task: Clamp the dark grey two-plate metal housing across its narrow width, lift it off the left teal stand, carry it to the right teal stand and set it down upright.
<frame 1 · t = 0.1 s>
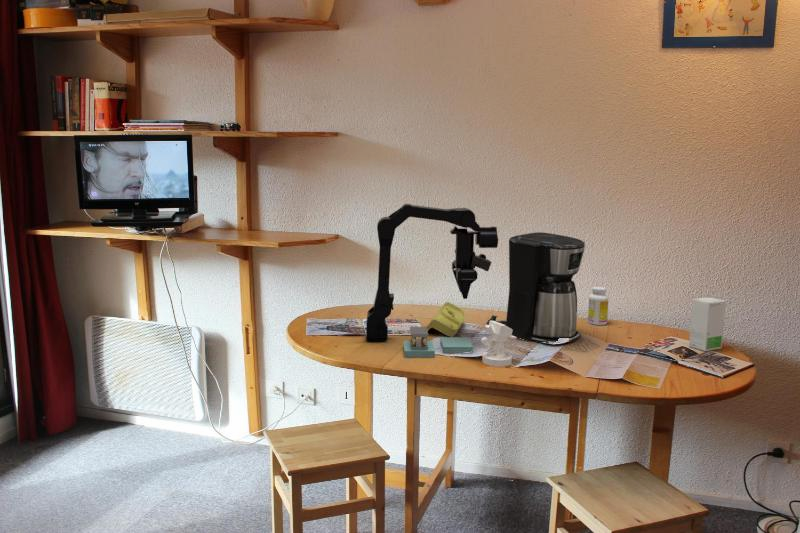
hand: (463, 295, 218), 15 cm above the table, tool pointing down, fingers open, 9 cm apart
housing: (418, 346, 207), point 2 cm above the table, touching stand left
character figurine: (498, 362, 199), on the table
stand right: (456, 348, 211), on the table
stand left: (418, 352, 207), on the table
plastic component: (446, 330, 233), on the table
coffee maker: (537, 332, 230), on the table
skincare box: (704, 348, 214), on the table
supplement bottle: (597, 323, 242), on the table
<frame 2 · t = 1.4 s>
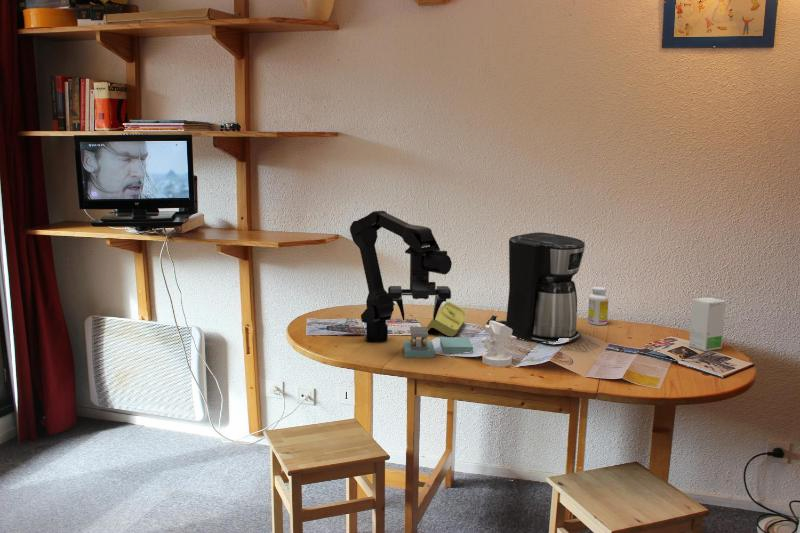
hand: (418, 320, 205), 10 cm above the table, tool pointing down, fingers open, 9 cm apart
nothing on the table moved.
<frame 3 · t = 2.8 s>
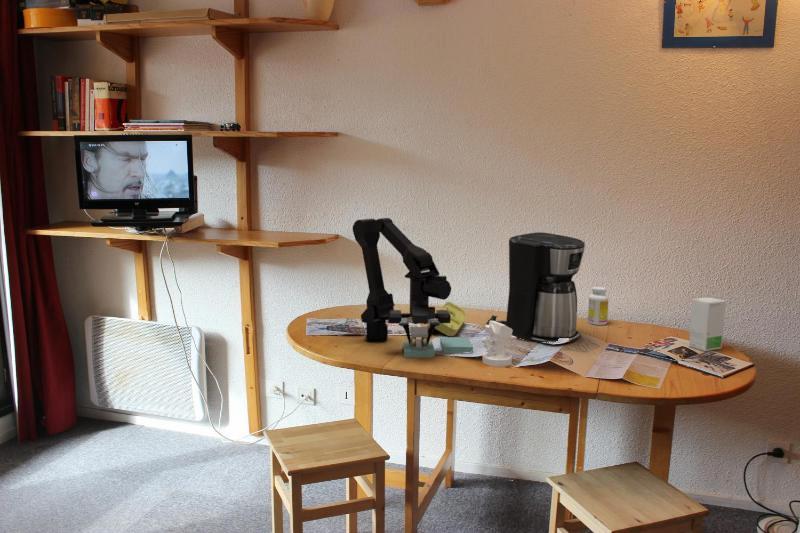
hand: (418, 343, 206), 3 cm above the table, tool pointing down, fingers closed on housing, 5 cm apart
housing: (418, 346, 207), point 2 cm above the table, touching gripper, stand left
everything else where it was.
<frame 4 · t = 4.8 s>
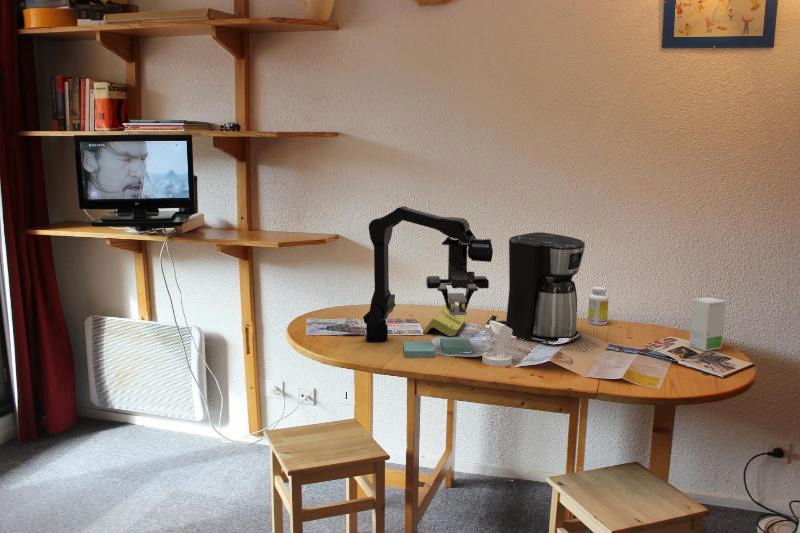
hand: (456, 309, 209), 12 cm above the table, tool pointing down, fingers closed on housing, 5 cm apart
housing: (456, 311, 209), point 12 cm above the table, touching gripper
everything else where it was.
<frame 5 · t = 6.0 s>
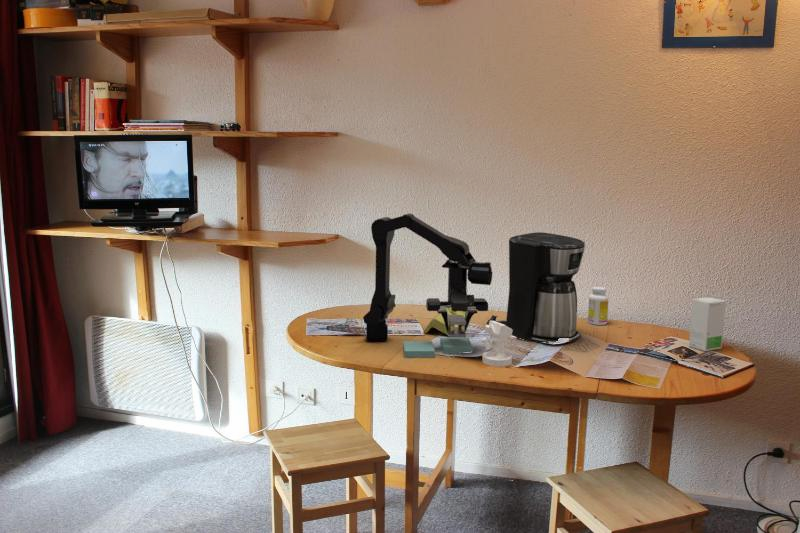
hand: (456, 331, 210), 5 cm above the table, tool pointing down, fingers closed on housing, 5 cm apart
housing: (456, 333, 210), point 5 cm above the table, touching gripper
everything else where it was.
when the fingers open (3 cm above the table, at t = 6.8 s): housing stays where it is, resting on stand right.
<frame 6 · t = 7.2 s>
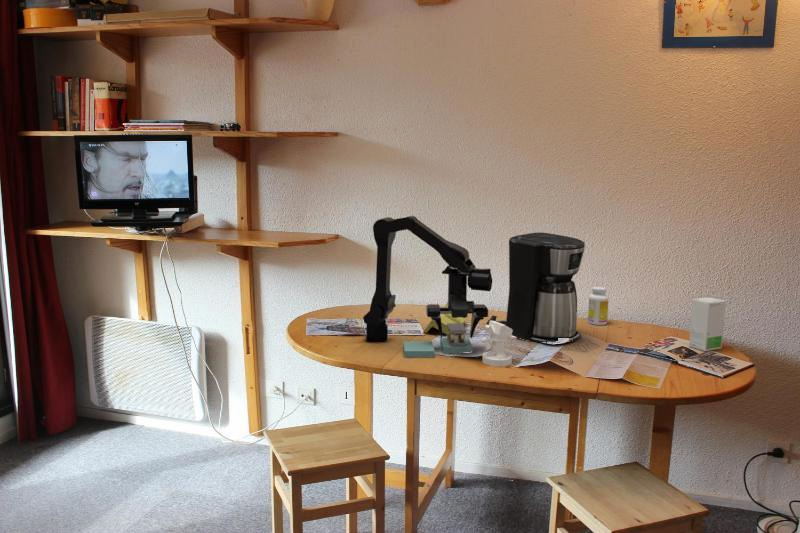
hand: (456, 337, 211), 3 cm above the table, tool pointing down, fingers open, 9 cm apart
housing: (456, 342, 211), point 2 cm above the table, touching stand right
everything else where it was.
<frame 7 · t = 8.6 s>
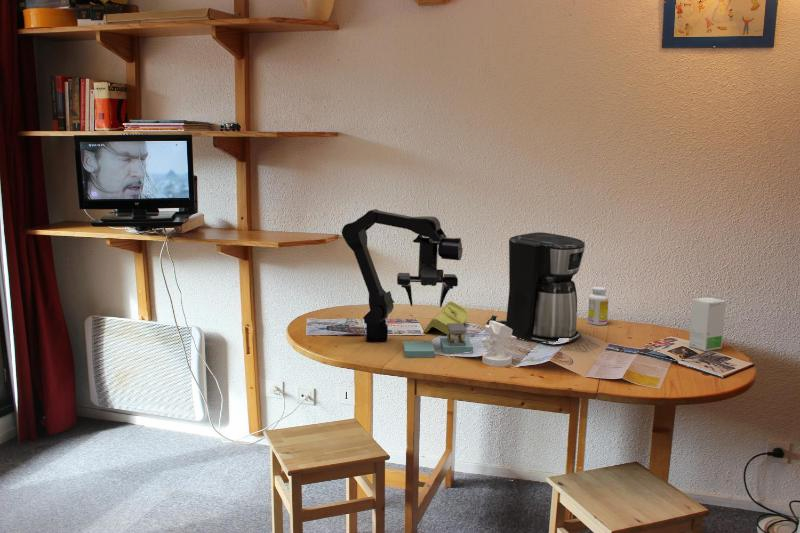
hand: (425, 306, 213), 12 cm above the table, tool pointing down, fingers open, 9 cm apart
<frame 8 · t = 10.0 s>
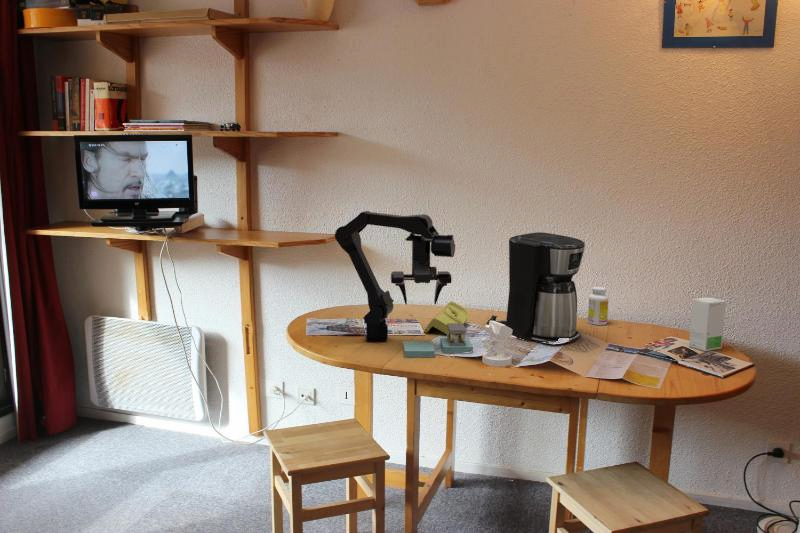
hand: (420, 304, 213), 13 cm above the table, tool pointing down, fingers open, 9 cm apart
at the end: housing inside the target area on the stand right (0.1 cm from its centre), point 2.0 cm above the stand right's base; housing tilted 0°; the gripper is holding nothing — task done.
